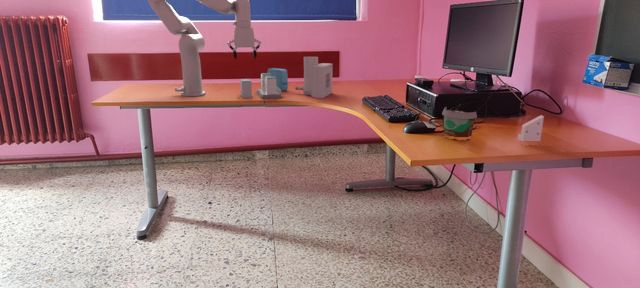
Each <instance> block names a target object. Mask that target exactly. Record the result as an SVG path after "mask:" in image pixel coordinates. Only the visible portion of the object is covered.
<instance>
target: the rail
mask: <svg viewBox="0 0 640 288" xmlns="http://www.w3.org/2000/svg"><path fill="white" fill-rule="evenodd" d="M260 83H261V85H260V86H261V87H260V88H256V93H257V94H258V95H259V97H260V98H261V99H262V100H264V99H266V100H267V99H282V91H281V90H280V89H279V88H278V87H277V86H276V77H271V74H270V73H268V72H265V73H264V72H262V73H261V74H260Z"/></svg>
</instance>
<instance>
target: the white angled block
mask: <svg viewBox="0 0 640 288" xmlns="http://www.w3.org/2000/svg"><path fill="white" fill-rule="evenodd" d="M544 118H545V116H544V115H542V114H541V115H539V116H536V117H535V118H533V119H531V120H529V121H527V122H526V123H524V124H522V126H521V133H518V134H517V135H518V136H517V140H518V139H519V140H521V141H540V142H541V137H542V131H543V127H544V126H543V124H544Z"/></svg>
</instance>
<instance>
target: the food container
mask: <svg viewBox="0 0 640 288" xmlns="http://www.w3.org/2000/svg"><path fill="white" fill-rule="evenodd" d="M441 114H442V116H443V128H444V129H443V134H444V133H445V134H447V135H449V136H454V137H469V136H471V137H472V135H473V129H474V124H475V121H476V119H477V118H478V115H477V111H473V112H466V111H464V110H454V109H453V110H452V109H447V106H445V107H444V108H443V110H442V112H441Z"/></svg>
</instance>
